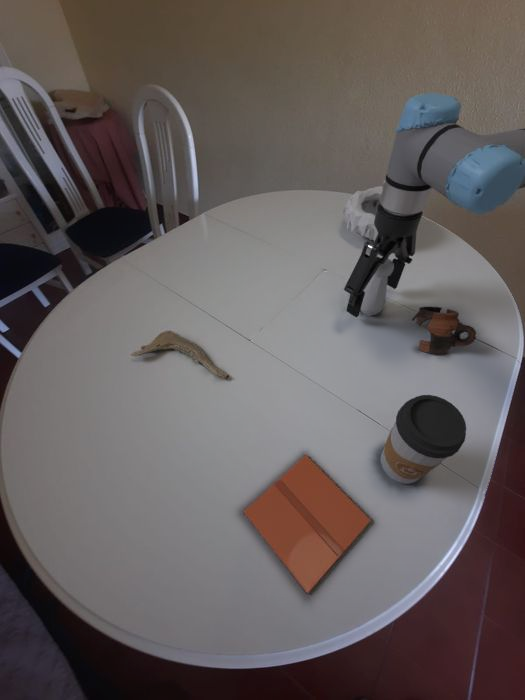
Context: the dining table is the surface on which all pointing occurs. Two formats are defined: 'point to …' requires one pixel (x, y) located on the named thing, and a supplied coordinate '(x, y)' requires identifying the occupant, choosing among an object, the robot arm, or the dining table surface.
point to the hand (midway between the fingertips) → (372, 299)
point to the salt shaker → (377, 290)
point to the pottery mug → (443, 330)
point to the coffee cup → (422, 438)
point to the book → (307, 521)
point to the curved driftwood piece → (185, 346)
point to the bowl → (363, 211)
